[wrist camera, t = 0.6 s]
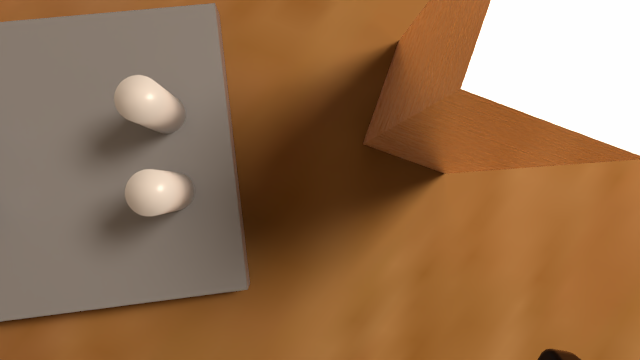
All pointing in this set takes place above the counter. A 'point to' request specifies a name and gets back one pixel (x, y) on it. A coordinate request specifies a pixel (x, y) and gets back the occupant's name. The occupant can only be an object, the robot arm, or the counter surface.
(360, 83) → the counter surface
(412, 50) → the white tall rectangular block
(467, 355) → the counter surface
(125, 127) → the pin tray
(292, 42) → the counter surface
